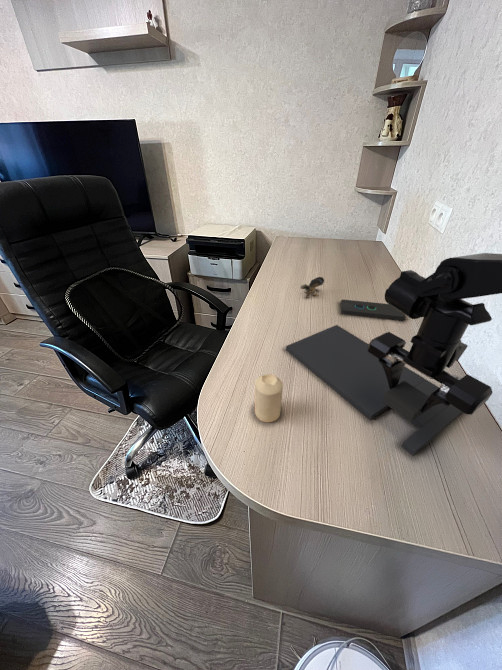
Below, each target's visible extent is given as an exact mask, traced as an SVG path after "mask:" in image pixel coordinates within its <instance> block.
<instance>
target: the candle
mask: <svg viewBox="0 0 502 670" xmlns="http://www.w3.org/2000/svg"><path fill="white" fill-rule="evenodd" d="M283 387H284V385H283V381H282V380H281V379H280V377H278V376H276V375H275V374H272V373H267V374H263V375H261V376H259V377H258V378H257V379H256V380H255V383H254V414H255V416H256V418H257V419H258V420H260V421H261V422H264V423H273V422H276V421H277V420H278V419H279V417H280V415H281V409H282V399H283Z"/></svg>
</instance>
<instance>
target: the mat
mask: <svg viewBox="0 0 502 670" xmlns="http://www.w3.org/2000/svg"><path fill="white" fill-rule="evenodd" d="M285 346H286V347H285V351H286V352H287V353H289V355H291V356H292V357H293V358H295V359H296V360H297V361H298V362H299V363H301V364H302V365H303V366H305V367H306V368H307V369H308V370H309V371H310V372H312V373H313V374H314V375H315V376H316V377H318V378H319V379H320V380H321V381H322V382H324V383H325V384H326V385H327V386H328V387H330V388H331V389H332V390H333V391H334V392H335V393H337V394H338V395H339V396H340V397H342V398H343V399H344V400H345V401H346V402H348V404H350V405H351V406H352V407H353V408H355V409H356V410H357V411H358V412H359V413H361V414H362V415H363V416H364V417H366V418H367V419H368V420H369V421H372V419H374V418H376V417H377V416H379V415H380V414H382V413H383V412H384V411H385V410H387V409H389V408H390V407H389V406H388V405H387V404H385V403H384V402H383V401H382V400H383V398H384V395H385V393H386V392H387V391H389V390H390V388H389V384H388V380H387V377H386V374H385V371H384V369H383V366H382V364H381V363H379V361H378V360H379V358H377V357H375V356H374V355H372V354H371V353H369V352H368V346H369V343H367V342H366V341H364V340H362V339H361V338H359V337H357V336H356V335H354V334H353V333H351V332H349V331H348V330H346V329H345V328H343V327H341V326H339V325H338V324H335V325H333V326H331V327H328V328H326V329H323V330H321V331H319V332H316V333H314V334H311V335H309V336H307V337H304V338H301V339H299V340H297V341H295V342H293V343H290V344H287V345H285ZM403 381H406V382H407V383H409V384H410V385H412V386H413V387H415V388H416V389H418V390H420V391H421V392H423V393H424V394H426V395H427V396H430V395H431V393H433V392H434V391H436V390H437V389H438V388H440V386H437V385H436V384H435V383H433V382H431V381H429V380H428V379H426V378H425V377H423V376H422V375H420V374H419V373H416V372H415V371H413V370H411V369H410V368H408V367H406V365H405V366H404V368H403V371H402V374H401V377H400V380H399V383H398V384H400V383H401V382H403ZM463 413H464V412H462V411H461V410H459V409H457V408H456V407H454V406H453V405H451V406H446V405H444V404H443V403H441V404H438V405H436V406H433V407H431V408H430V409H428V410H427V411H425V412H424V413H422V414H421V415H420V416H418V417H417V418H416V419H414V420H413V421H412V422H410V423H411V424H413V425H414V426H415V427H416V428H418V430H416V431H415V432H414V433H413V434H411V435H410V436H409V437H407V438H406V439H405V440H404V441H403V442H402V444H401V445H400V447H401V448H402V449H404V450H405V451H406V452H407V453H409V454H410V455H411V456H412V457H413V456H414V455H416V454H417V453H418V452H419V451H420V450H422V449H423V448H424V447H425V446H426V445H428V444H429V443H430V442H431V441H432V440H434V438H436V437H437V436H438V435H439V434H440V433H441V432H443V431H444V430H445V429H446V428H447V427H448V426H450V425H451V424H452V423H453V422H455V420H456V419H459V417H460V416H461V415H463Z"/></svg>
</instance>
